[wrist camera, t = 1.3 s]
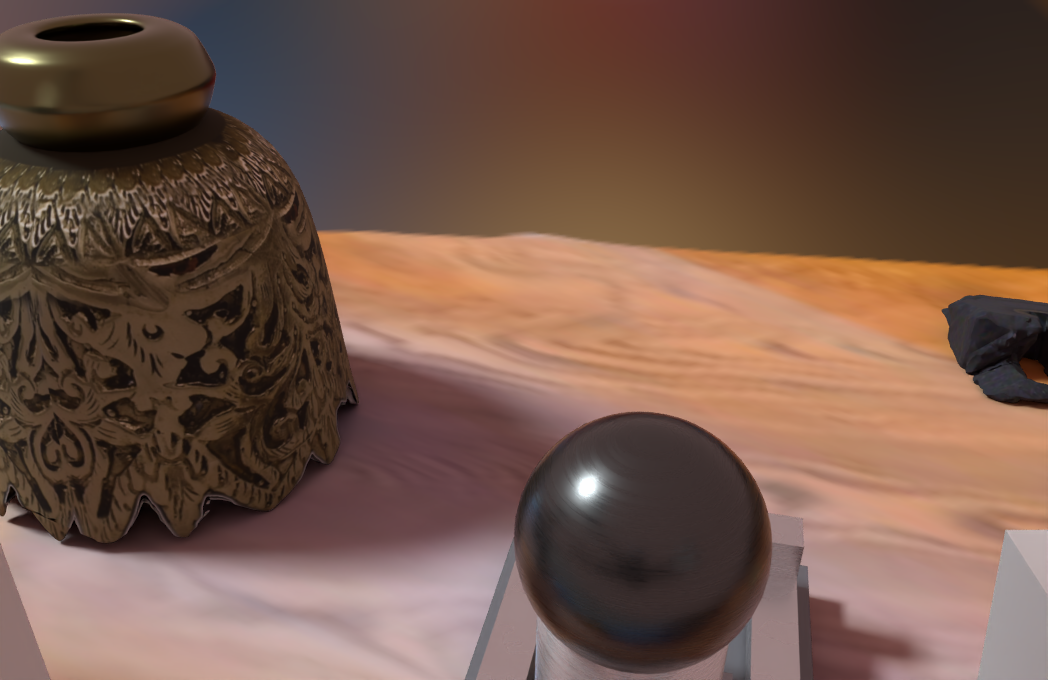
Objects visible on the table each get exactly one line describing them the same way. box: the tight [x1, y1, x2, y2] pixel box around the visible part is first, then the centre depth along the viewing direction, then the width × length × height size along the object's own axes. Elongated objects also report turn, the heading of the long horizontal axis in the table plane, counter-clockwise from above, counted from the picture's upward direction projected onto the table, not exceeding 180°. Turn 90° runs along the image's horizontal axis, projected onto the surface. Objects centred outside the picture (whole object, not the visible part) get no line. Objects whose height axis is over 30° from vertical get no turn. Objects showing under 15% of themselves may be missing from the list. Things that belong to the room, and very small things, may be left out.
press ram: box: [476, 412, 804, 680], centre depth 31 cm, size 13×24×23 cm, turn 167°
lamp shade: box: [0, 13, 359, 543], centre depth 53 cm, size 23×23×25 cm
